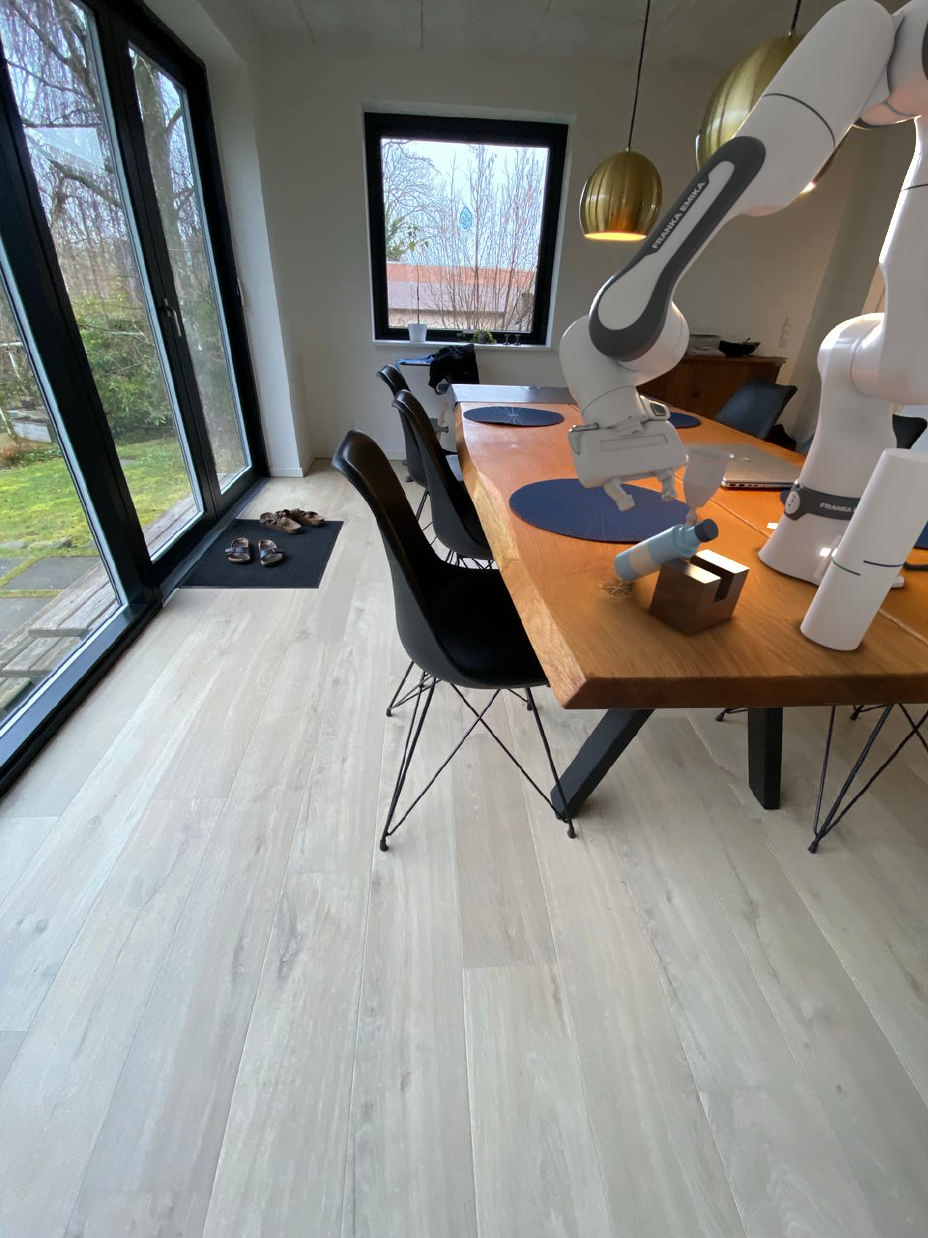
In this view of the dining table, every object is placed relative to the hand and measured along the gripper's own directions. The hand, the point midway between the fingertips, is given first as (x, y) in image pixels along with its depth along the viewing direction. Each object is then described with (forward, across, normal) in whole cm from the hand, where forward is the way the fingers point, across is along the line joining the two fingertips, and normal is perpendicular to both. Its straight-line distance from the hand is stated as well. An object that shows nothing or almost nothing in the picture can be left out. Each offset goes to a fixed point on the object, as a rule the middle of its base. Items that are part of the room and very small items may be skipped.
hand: (650, 504), depth 78 cm
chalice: (+6, +18, +12) cm, 22 cm away
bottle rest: (+17, 0, +1) cm, 17 cm away
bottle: (+12, 0, +7) cm, 14 cm away
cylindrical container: (+27, +13, -8) cm, 31 cm away
